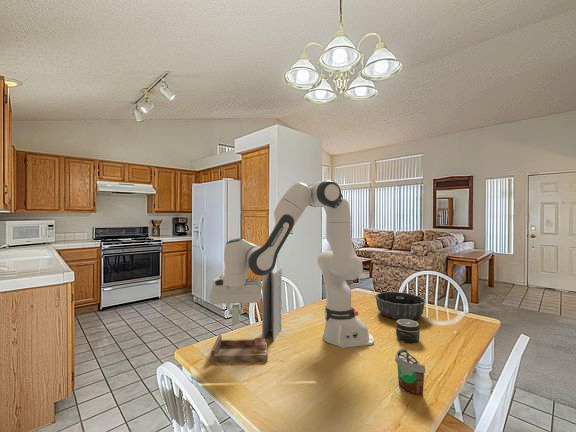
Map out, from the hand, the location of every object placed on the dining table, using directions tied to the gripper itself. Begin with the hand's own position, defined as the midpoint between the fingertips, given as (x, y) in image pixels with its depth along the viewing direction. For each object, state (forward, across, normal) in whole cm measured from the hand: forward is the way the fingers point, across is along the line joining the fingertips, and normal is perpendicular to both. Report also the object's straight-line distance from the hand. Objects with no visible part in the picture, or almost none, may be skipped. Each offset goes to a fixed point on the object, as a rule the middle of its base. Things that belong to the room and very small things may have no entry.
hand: (236, 313), depth 115 cm
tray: (+16, -2, 0) cm, 17 cm away
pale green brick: (+3, 0, 0) cm, 3 cm away
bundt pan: (+18, -85, -42) cm, 96 cm away
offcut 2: (+16, -10, 0) cm, 19 cm away
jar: (+18, -75, -11) cm, 78 cm away
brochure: (+17, -14, -18) cm, 28 cm away
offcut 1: (+14, -9, 0) cm, 17 cm away
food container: (+17, -58, +24) cm, 65 cm away
